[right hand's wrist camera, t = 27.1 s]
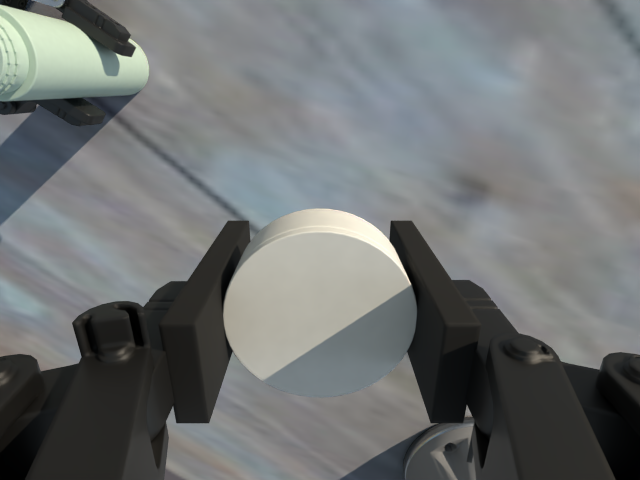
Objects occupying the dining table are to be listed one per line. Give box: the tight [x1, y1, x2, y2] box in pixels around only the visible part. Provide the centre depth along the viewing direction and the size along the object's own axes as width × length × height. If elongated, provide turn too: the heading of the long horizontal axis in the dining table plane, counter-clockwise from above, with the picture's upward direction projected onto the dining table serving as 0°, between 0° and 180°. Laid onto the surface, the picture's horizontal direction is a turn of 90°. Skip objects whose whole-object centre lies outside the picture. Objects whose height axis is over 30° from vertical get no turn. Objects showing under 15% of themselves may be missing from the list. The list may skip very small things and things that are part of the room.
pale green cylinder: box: [0, 5, 149, 101], centre depth 24 cm, size 4×4×15 cm
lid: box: [223, 209, 417, 397], centre depth 11 cm, size 5×5×2 cm
